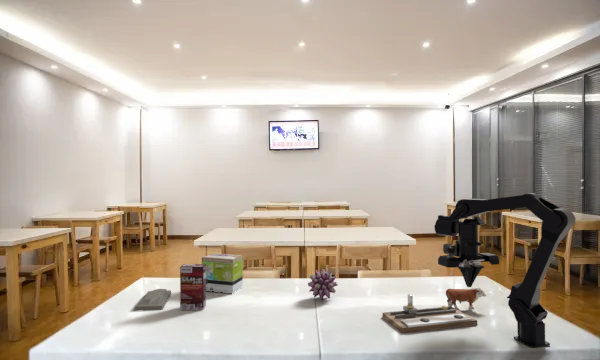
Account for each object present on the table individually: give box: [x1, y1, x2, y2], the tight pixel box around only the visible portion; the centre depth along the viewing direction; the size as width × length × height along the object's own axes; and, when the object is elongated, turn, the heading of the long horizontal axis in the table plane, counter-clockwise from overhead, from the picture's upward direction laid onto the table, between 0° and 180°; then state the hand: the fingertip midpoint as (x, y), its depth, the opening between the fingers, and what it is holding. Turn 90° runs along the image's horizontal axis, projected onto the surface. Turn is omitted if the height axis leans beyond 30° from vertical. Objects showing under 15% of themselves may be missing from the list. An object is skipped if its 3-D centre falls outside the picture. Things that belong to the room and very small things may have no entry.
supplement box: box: [179, 263, 207, 311], centre depth 141 cm, size 9×5×16 cm, turn 91°
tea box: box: [201, 252, 244, 294], centre depth 165 cm, size 15×10×15 cm
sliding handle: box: [402, 294, 418, 314], centre depth 127 cm, size 4×3×5 cm
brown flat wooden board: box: [382, 305, 478, 334], centre depth 125 cm, size 14×26×3 cm, turn 103°
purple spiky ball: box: [307, 268, 339, 300], centre depth 150 cm, size 12×12×12 cm
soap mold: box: [133, 288, 172, 312], centre depth 149 cm, size 10×20×4 cm, turn 9°
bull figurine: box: [445, 286, 487, 311], centre depth 137 cm, size 4×13×8 cm, turn 78°
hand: (469, 286), depth 122 cm, fingers closed
